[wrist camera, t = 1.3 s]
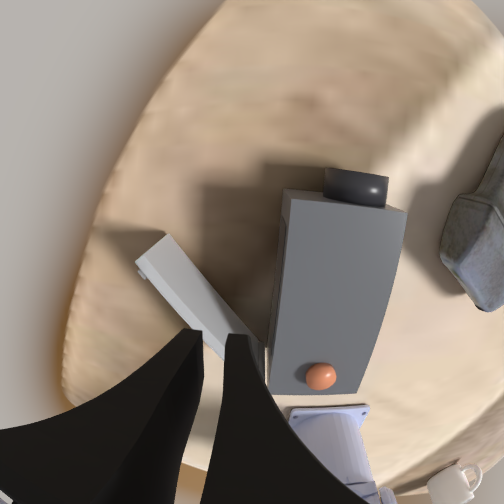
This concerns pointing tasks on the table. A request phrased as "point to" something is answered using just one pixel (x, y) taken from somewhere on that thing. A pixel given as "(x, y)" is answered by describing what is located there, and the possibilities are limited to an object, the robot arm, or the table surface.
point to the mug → (453, 485)
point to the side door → (194, 297)
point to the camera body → (331, 283)
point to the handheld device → (479, 238)
